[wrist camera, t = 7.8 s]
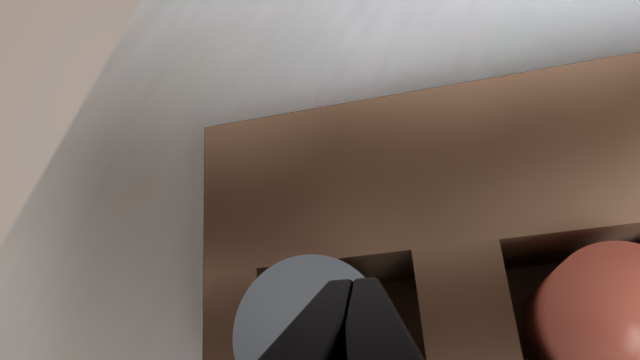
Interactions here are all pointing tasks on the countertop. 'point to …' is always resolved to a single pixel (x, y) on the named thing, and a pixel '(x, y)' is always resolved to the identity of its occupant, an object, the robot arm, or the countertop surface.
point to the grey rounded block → (282, 299)
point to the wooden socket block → (430, 198)
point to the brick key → (588, 306)
